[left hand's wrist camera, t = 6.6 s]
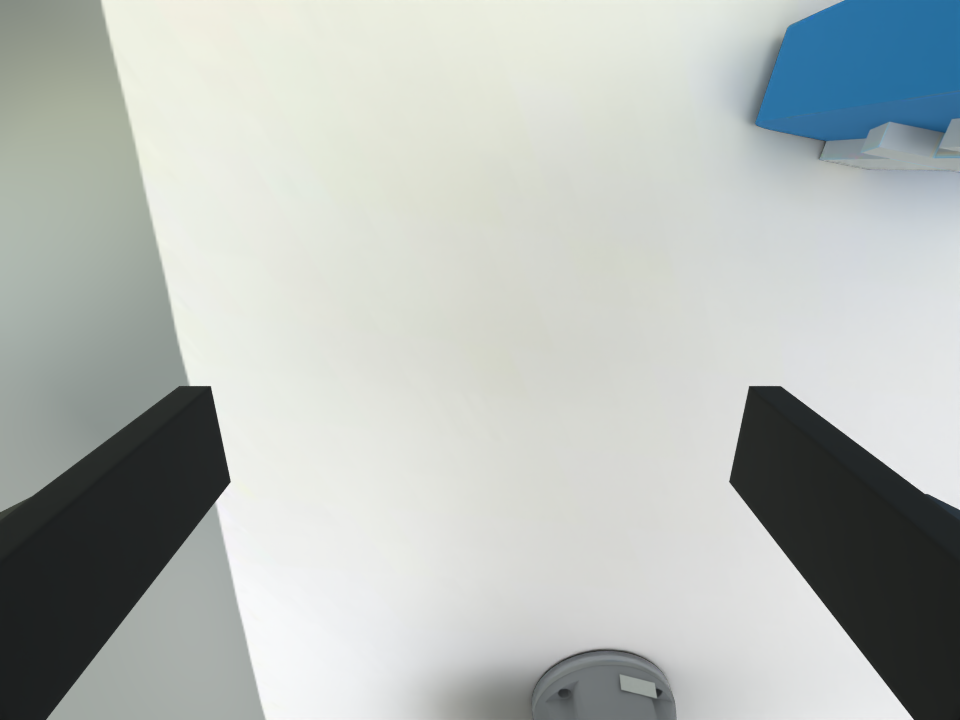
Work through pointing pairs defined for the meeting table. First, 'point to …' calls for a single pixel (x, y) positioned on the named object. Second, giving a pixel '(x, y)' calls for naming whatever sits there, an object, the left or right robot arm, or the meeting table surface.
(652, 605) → the meeting table surface
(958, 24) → the logo
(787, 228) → the meeting table surface
